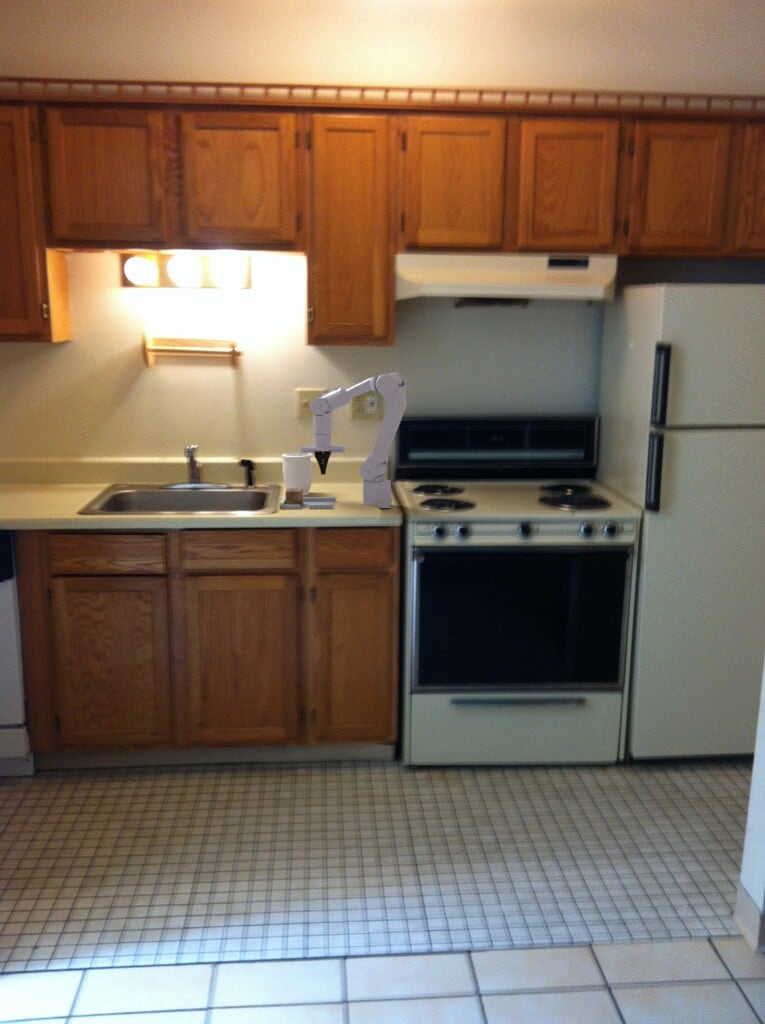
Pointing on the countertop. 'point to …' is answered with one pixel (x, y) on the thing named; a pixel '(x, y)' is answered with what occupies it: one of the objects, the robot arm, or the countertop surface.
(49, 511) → the countertop surface
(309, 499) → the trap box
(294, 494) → the walnut block
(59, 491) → the countertop surface
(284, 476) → the jar
